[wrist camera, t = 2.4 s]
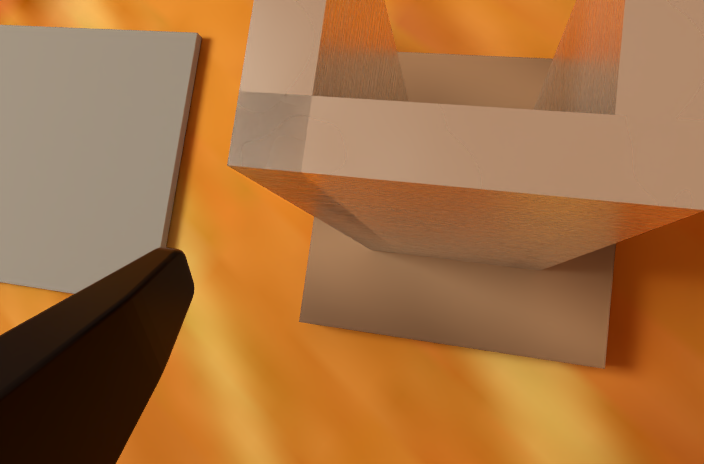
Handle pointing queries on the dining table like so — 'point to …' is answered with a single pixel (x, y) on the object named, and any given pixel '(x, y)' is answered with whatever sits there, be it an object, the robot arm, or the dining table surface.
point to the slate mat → (88, 148)
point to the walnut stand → (460, 276)
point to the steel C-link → (477, 134)
